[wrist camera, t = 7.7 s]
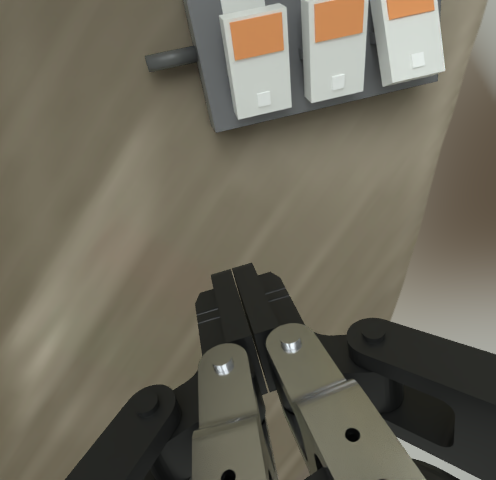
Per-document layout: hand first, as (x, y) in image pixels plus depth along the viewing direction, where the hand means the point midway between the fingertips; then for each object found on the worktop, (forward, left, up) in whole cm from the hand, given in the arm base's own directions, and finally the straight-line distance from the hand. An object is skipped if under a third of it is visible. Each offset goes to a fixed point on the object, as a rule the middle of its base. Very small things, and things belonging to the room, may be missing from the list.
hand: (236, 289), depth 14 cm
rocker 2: (-6, +18, -20) cm, 27 cm away
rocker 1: (-6, +6, -19) cm, 21 cm away
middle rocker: (-6, +12, -19) cm, 24 cm away
